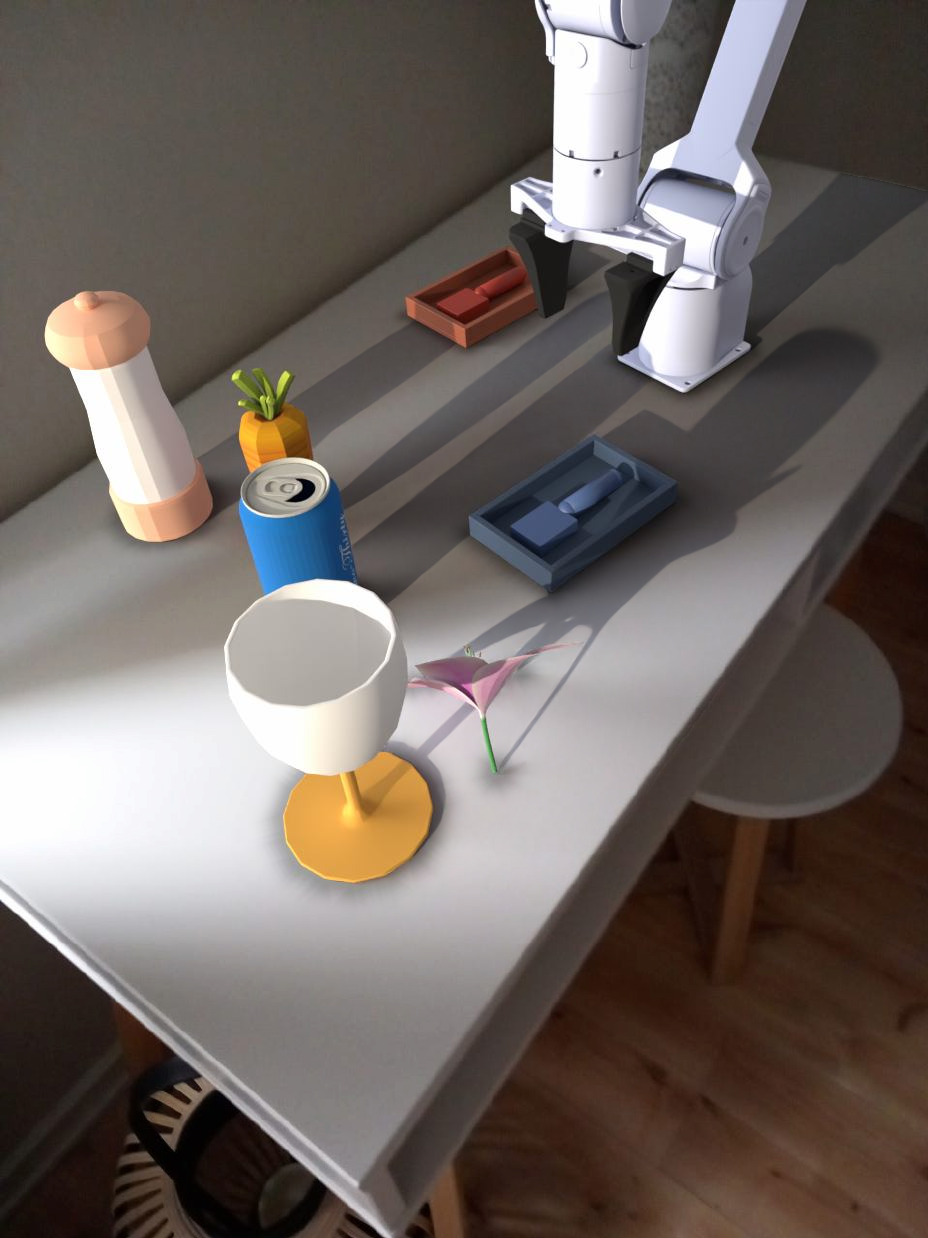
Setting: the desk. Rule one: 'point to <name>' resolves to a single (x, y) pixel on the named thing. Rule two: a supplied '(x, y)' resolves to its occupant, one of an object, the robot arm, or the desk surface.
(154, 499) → the pepper shaker
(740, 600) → the desk surface
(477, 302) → the red handled block
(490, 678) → the lily
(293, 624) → the cup
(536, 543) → the blue handled block
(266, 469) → the beverage can
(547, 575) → the blue tray
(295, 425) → the carrot
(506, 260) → the red tray
